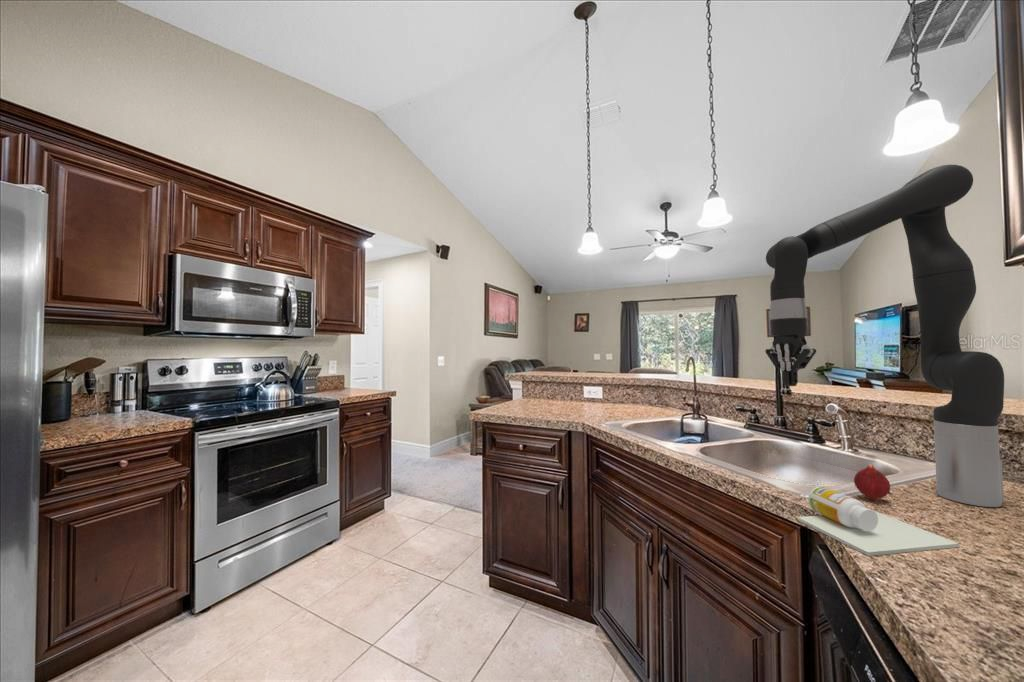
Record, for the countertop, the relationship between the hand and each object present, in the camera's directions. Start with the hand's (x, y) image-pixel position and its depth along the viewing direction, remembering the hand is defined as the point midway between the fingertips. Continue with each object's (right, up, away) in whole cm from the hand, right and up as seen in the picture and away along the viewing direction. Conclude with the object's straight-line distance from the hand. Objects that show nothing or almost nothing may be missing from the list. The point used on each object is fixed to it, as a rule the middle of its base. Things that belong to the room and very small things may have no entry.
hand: (790, 385), depth 93 cm
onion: (+11, -25, -10) cm, 29 cm away
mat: (-4, -24, -25) cm, 35 cm away
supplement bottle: (-7, -21, -17) cm, 28 cm away
